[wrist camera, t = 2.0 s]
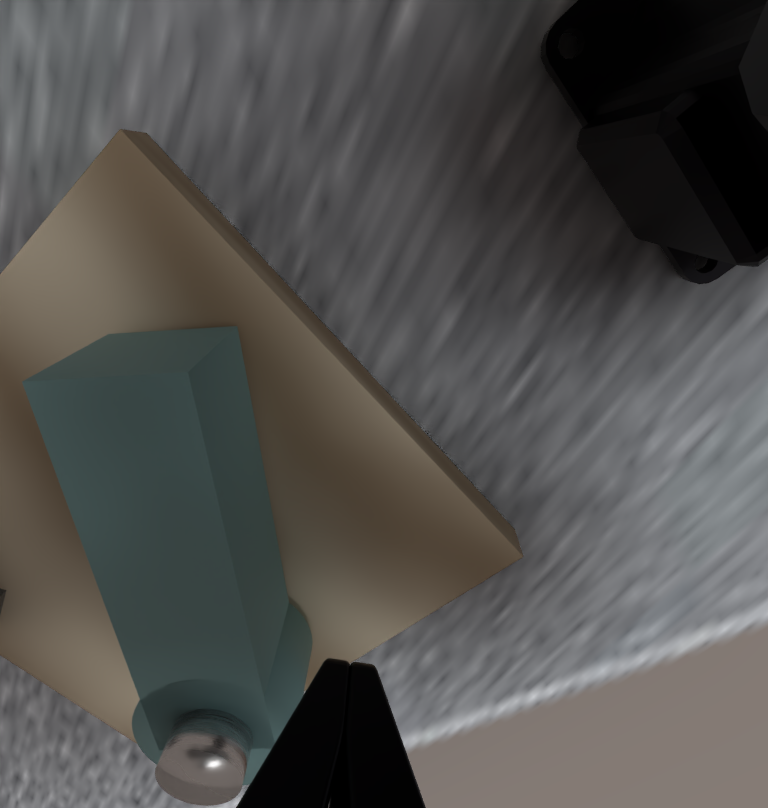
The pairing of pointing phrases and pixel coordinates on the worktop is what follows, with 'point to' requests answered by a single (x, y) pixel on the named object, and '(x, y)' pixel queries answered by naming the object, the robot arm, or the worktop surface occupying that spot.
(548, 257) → the worktop surface
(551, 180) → the worktop surface
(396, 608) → the board
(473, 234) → the worktop surface
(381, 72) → the worktop surface
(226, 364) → the link
